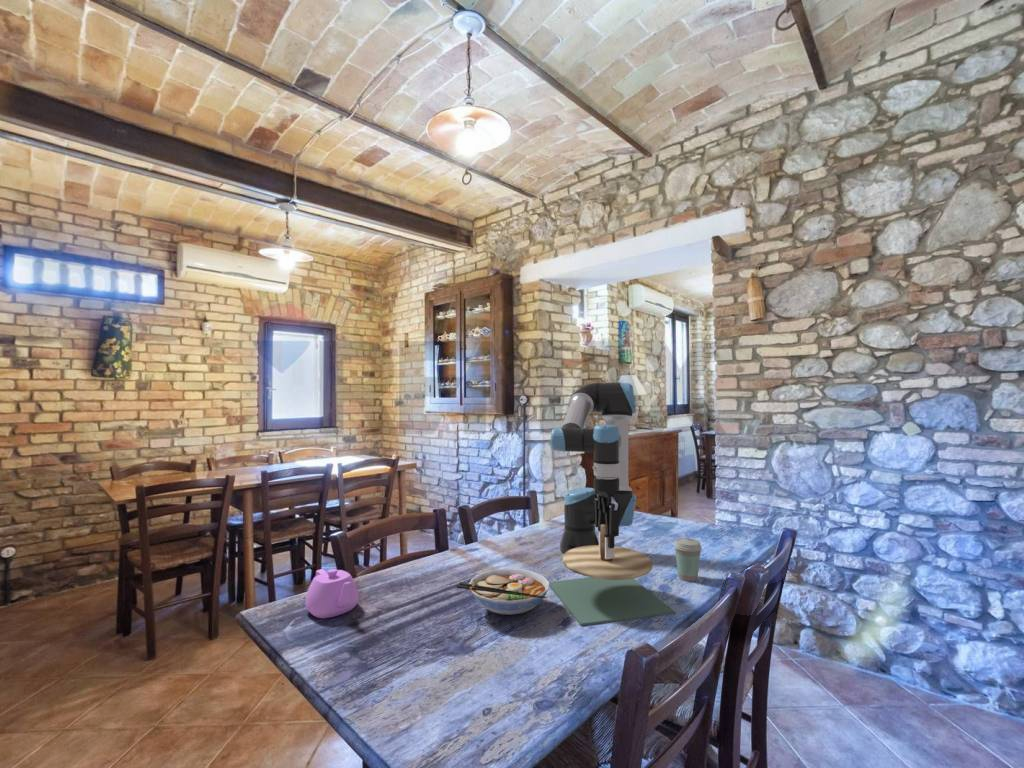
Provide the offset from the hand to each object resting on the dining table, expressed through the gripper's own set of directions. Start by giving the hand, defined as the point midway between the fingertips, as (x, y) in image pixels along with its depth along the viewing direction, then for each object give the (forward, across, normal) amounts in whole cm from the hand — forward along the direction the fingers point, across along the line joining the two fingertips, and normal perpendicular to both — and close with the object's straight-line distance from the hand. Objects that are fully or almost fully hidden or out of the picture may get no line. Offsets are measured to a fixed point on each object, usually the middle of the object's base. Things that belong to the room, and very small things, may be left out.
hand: (606, 555), depth 145 cm
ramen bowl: (+13, 0, -30) cm, 32 cm away
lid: (+2, 0, 0) cm, 2 cm away
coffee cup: (+13, -7, +32) cm, 35 cm away
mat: (+12, 0, 0) cm, 12 cm away
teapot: (+13, -12, -78) cm, 80 cm away
